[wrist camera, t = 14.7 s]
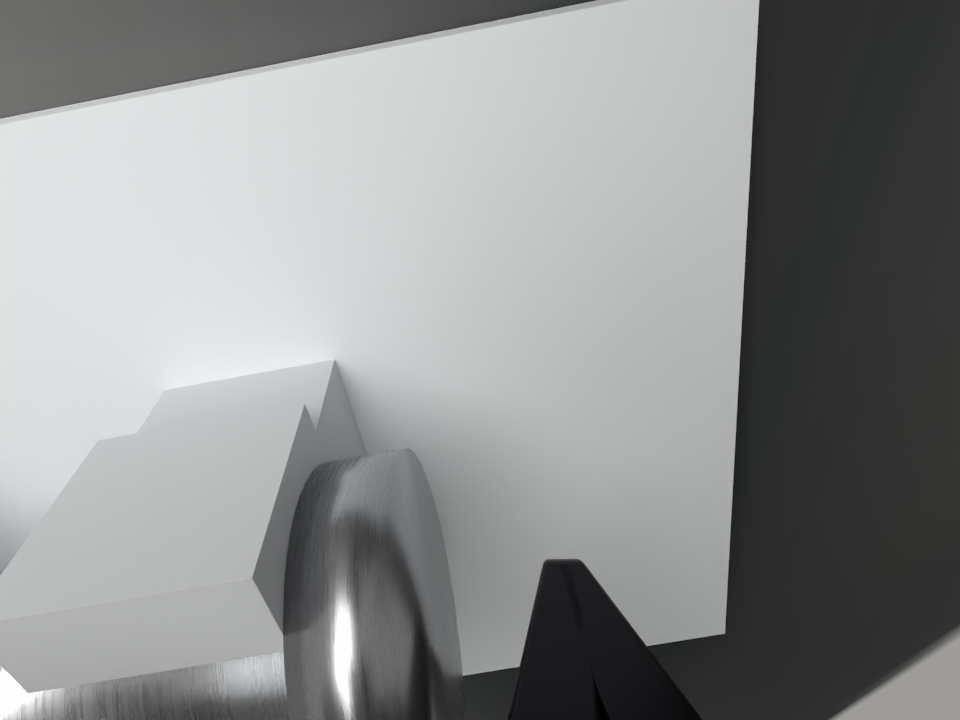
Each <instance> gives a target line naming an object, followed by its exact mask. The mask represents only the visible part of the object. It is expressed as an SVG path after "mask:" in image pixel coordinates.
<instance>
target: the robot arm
mask: <svg viewBox="0 0 960 720" xmlns="http://www.w3.org/2000/svg"><path fill="white" fill-rule="evenodd" d="M507 720H702V719H701V717H700V716H699V715H698V713H697V712H696V711H695V709H694V708H693V707H692V705H691V704H690V703H689V701H688V700H687V699H686V697H685V696H684V695H683V693H682V692H681V691H680V689H679V688H678V687H677V685H676V684H675V683H674V681H673V680H672V679H671V678H670V676H669V675H668V674H667V672H666V671H665V670H664V668H663V667H662V666H661V664H660V663H659V662H658V660H657V659H656V658H655V656H654V655H653V654H652V652H651V651H650V650H649V648H648V647H647V646H646V644H645V643H644V642H643V640H642V639H641V638H640V636H639V635H638V634H637V633H636V631H635V630H634V629H633V627H632V626H631V625H630V623H629V622H628V621H627V619H626V618H625V617H624V615H623V614H622V613H621V611H620V610H619V609H618V607H617V606H616V605H615V603H614V602H613V601H612V599H611V598H610V597H609V595H608V594H607V593H606V591H605V590H604V589H603V588H602V586H601V585H600V584H599V582H598V581H597V580H596V578H595V577H594V576H593V574H592V573H591V572H590V570H589V569H588V568H587V566H586V565H585V564H584V563H583V562H582V561H581V560H579V559H546V560H545V561H544V562H543V566H542V570H541V574H540V579H539V583H538V587H537V592H536V596H535V601H534V605H533V609H532V614H531V618H530V623H529V627H528V631H527V636H526V640H525V645H524V649H523V653H522V658H521V662H520V667H519V671H518V675H517V680H516V684H515V689H514V693H513V697H512V702H511V706H510V711H509V715H508V719H507Z"/></svg>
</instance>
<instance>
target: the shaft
mask: <svg viewBox="0 0 960 720" xmlns="http://www.w3.org/2000/svg"><path fill="white" fill-rule="evenodd" d="M0 720H465V703H464V687H463V674H462V663H461V652H460V643H459V634H458V625H457V617H456V610H455V603H454V596H453V589H452V583H451V577H450V571H449V565H448V560H447V554H446V549H445V544H444V539H443V535H442V530H441V526H440V522H439V517H438V513H437V509H436V506H435V502H434V498H433V495H432V492H431V489H430V485H429V483H428V480H427V477H426V474H425V472H424V469H423V467H422V465H421V463H420V461H419V459H418V457H417V456H416V455H415V453H414V452H413V451H412V450H411V449H409V448H402V449H397V450H391V451H385V452H379V453H374V454H368V455H362V456H356V457H351V458H345V459H339V460H334V461H328V462H324V463H322V464H320V465H318V466H317V467H316V468H315V469H314V470H313V471H312V473H311V474H310V476H309V477H308V479H307V480H306V482H305V485H304V487H303V489H302V491H301V494H300V497H299V500H298V503H297V506H296V510H295V513H294V518H293V522H292V527H291V532H290V538H289V545H288V552H287V559H286V570H285V582H284V604H283V652H278V653H271V654H265V655H259V656H253V657H247V658H241V659H235V660H229V661H223V662H217V663H211V664H204V665H198V666H192V667H186V668H180V669H174V670H168V671H162V672H156V673H150V674H143V675H137V676H131V677H125V678H119V679H113V680H107V681H101V682H95V683H89V684H83V685H76V686H70V687H64V688H58V689H52V690H46V691H40V692H34V693H27V692H26V691H25V690H24V689H23V688H22V687H21V686H20V685H19V684H18V683H17V682H16V681H15V680H14V679H13V678H12V677H11V676H10V674H9V673H8V672H7V671H6V670H5V669H4V668H3V667H2V666H1V665H0Z"/></svg>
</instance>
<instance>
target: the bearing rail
mask: <svg viewBox="0 0 960 720" xmlns="http://www.w3.org/2000/svg"><path fill="white" fill-rule="evenodd" d="M758 13H759V0H597V1H592V2H586V3H581V4H576V5H571V6H566V7H561V8H556V9H551V10H546V11H541V12H536V13H531V14H526V15H521V16H516V17H511V18H506V19H501V20H496V21H491V22H486V23H481V24H476V25H471V26H466V27H460V28H455V29H450V30H445V31H440V32H435V33H430V34H425V35H420V36H415V37H410V38H405V39H400V40H395V41H390V42H385V43H380V44H375V45H370V46H365V47H360V48H355V49H350V50H345V51H340V52H334V53H329V54H324V55H319V56H314V57H309V58H304V59H299V60H294V61H289V62H284V63H279V64H274V65H269V66H264V67H259V68H254V69H249V70H244V71H239V72H234V73H229V74H224V75H219V76H214V77H208V78H203V79H198V80H193V81H188V82H183V83H178V84H173V85H168V86H163V87H158V88H153V89H148V90H143V91H138V92H133V93H128V94H123V95H118V96H113V97H108V98H103V99H98V100H93V101H87V102H82V103H77V104H72V105H67V106H62V107H57V108H52V109H47V110H42V111H37V112H32V113H27V114H22V115H17V116H12V117H7V118H2V119H0V665H1V666H2V667H3V668H4V669H5V670H6V671H7V672H8V673H9V674H10V676H11V677H12V678H13V679H14V680H15V681H16V682H17V683H18V684H19V685H20V686H21V687H22V688H23V689H24V690H25V691H26V692H27V693H34V692H40V691H46V690H52V689H58V688H64V687H70V686H76V685H83V684H89V683H95V682H101V681H107V680H113V679H119V678H125V677H131V676H137V675H143V674H150V673H156V672H162V671H168V670H174V669H180V668H186V667H192V666H198V665H204V664H211V663H217V662H223V661H229V660H235V659H241V658H247V657H253V656H259V655H265V654H271V653H278V652H283V604H284V582H285V570H286V559H287V552H288V545H289V538H290V532H291V527H292V522H293V518H294V513H295V510H296V506H297V503H298V500H299V497H300V494H301V491H302V489H303V487H304V485H305V482H306V480H307V479H308V477H309V476H310V474H311V473H312V471H313V470H314V469H315V468H316V467H317V466H318V465H320V464H322V463H324V462H328V461H334V460H339V459H345V458H351V457H356V456H362V455H368V454H374V453H379V452H385V451H391V450H397V449H402V448H409V449H411V450H412V451H413V452H414V453H415V455H416V456H417V457H418V459H419V461H420V463H421V465H422V467H423V469H424V472H425V474H426V477H427V480H428V483H429V485H430V489H431V492H432V495H433V498H434V502H435V506H436V509H437V513H438V517H439V522H440V526H441V530H442V535H443V539H444V544H445V549H446V554H447V560H448V565H449V571H450V577H451V583H452V589H453V596H454V603H455V610H456V617H457V625H458V634H459V643H460V652H461V663H462V674H463V676H464V675H471V674H477V673H483V672H489V671H495V670H502V669H508V668H514V667H520V662H521V658H522V653H523V649H524V645H525V640H526V636H527V631H528V627H529V623H530V618H531V614H532V609H533V605H534V601H535V596H536V592H537V587H538V583H539V579H540V574H541V570H542V566H543V562H544V561H545V560H546V559H579V560H581V561H582V562H583V563H584V564H585V565H586V566H587V568H588V569H589V570H590V572H591V573H592V574H593V576H594V577H595V578H596V580H597V581H598V582H599V584H600V585H601V586H602V588H603V589H604V590H605V591H606V593H607V594H608V595H609V597H610V598H611V599H612V601H613V602H614V603H615V605H616V606H617V607H618V609H619V610H620V611H621V613H622V614H623V615H624V617H625V618H626V619H627V621H628V622H629V623H630V625H631V626H632V627H633V629H634V630H635V631H636V633H637V634H638V635H639V636H640V638H641V639H642V640H643V642H644V643H645V644H646V646H651V645H657V644H663V643H669V642H676V641H682V640H688V639H694V638H700V637H707V636H713V635H719V634H725V623H726V605H727V586H728V568H729V549H730V531H731V512H732V494H733V475H734V457H735V438H736V420H737V401H738V383H739V364H740V346H741V327H742V309H743V291H744V272H745V254H746V235H747V217H748V198H749V180H750V161H751V143H752V124H753V106H754V87H755V69H756V50H757V32H758Z"/></svg>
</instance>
